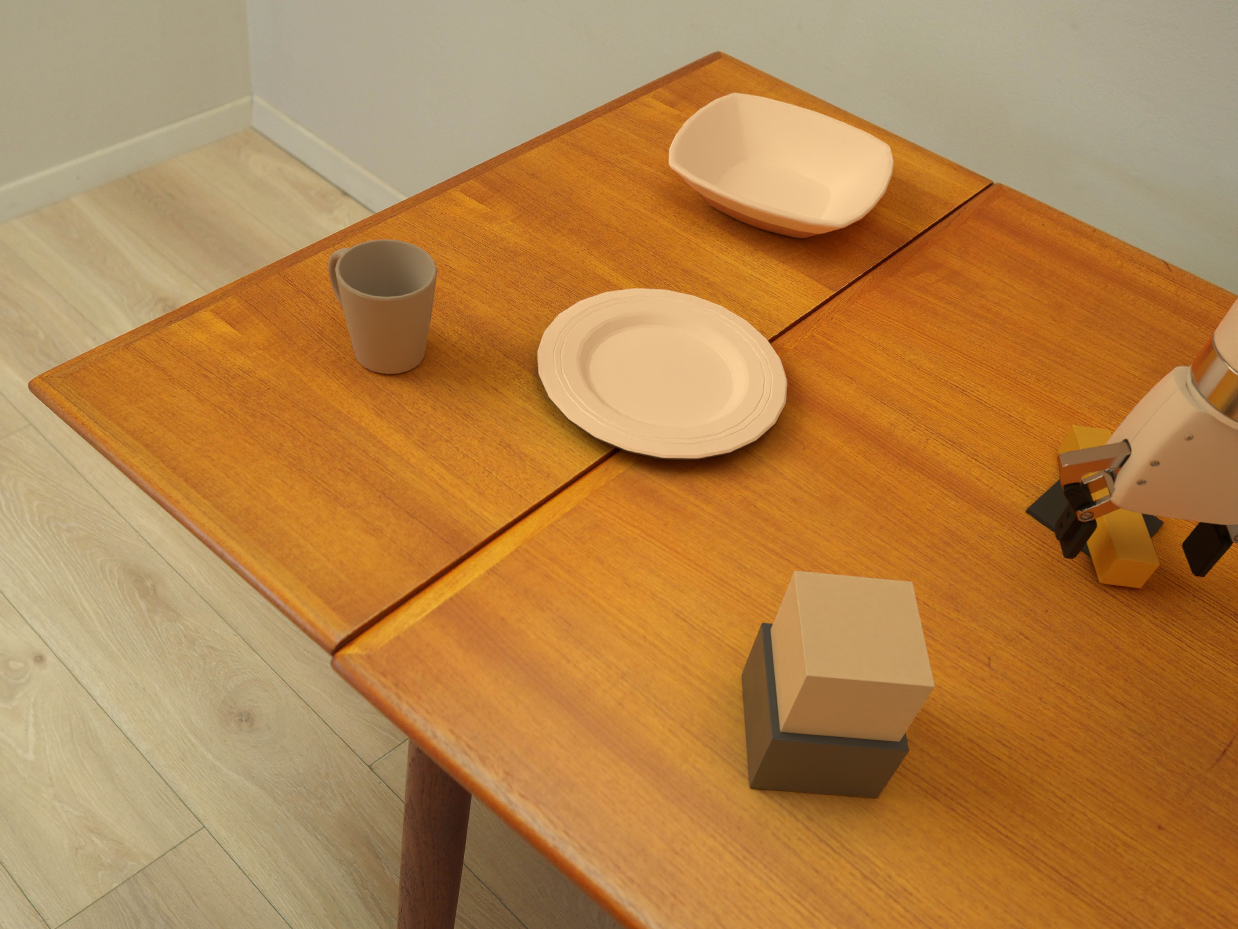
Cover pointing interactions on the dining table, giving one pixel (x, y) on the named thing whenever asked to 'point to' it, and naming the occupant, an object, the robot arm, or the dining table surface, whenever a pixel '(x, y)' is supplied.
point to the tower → (835, 686)
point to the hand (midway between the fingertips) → (1127, 552)
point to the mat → (1055, 503)
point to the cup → (385, 301)
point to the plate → (662, 374)
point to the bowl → (781, 165)
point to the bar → (1114, 527)
